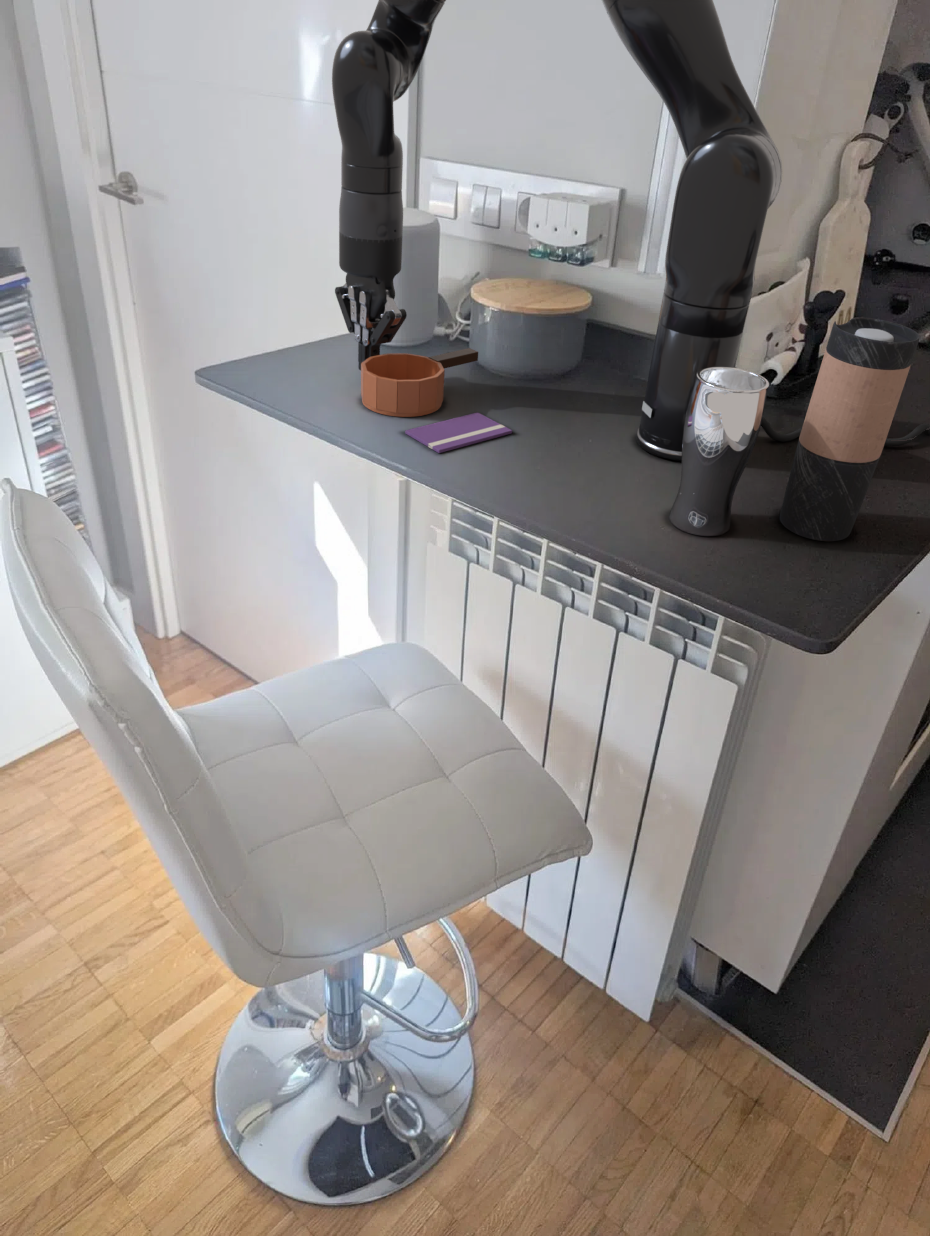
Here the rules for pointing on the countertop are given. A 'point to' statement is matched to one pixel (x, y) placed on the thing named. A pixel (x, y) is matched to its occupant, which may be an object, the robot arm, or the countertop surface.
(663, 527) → the countertop surface
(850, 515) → the travel mug
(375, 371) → the pan
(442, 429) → the towel
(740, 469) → the beer glass
